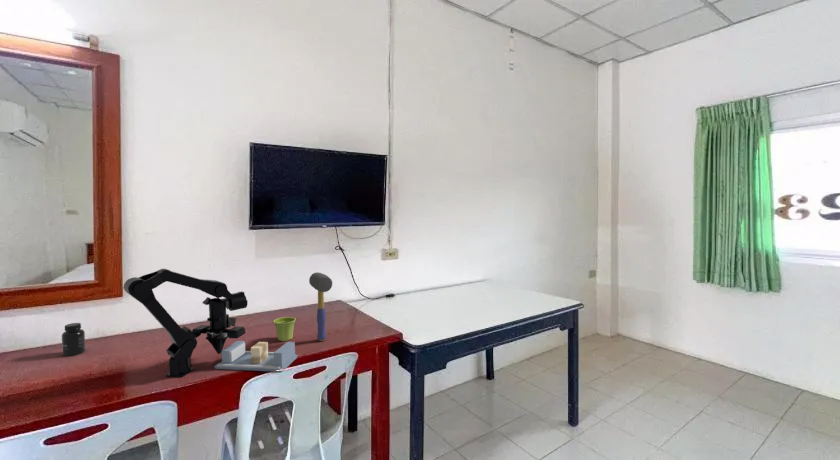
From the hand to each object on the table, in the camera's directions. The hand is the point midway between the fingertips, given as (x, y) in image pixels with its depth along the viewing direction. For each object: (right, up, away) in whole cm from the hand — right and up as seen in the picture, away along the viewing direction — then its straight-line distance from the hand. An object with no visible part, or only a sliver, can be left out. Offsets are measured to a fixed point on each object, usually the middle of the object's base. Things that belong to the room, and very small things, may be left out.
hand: (219, 353), depth 144 cm
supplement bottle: (-63, -3, +8) cm, 64 cm away
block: (+16, -2, -2) cm, 16 cm away
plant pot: (+17, -2, +24) cm, 29 cm away
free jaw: (+6, -2, 0) cm, 6 cm away
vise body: (+15, -3, -1) cm, 16 cm away
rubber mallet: (+34, -2, +22) cm, 40 cm away
